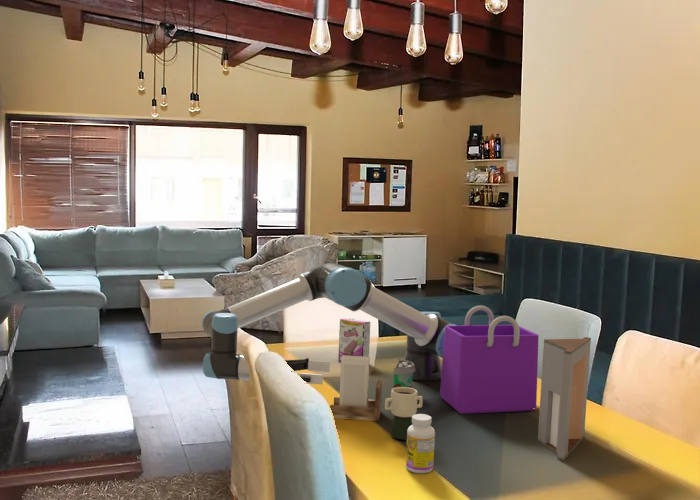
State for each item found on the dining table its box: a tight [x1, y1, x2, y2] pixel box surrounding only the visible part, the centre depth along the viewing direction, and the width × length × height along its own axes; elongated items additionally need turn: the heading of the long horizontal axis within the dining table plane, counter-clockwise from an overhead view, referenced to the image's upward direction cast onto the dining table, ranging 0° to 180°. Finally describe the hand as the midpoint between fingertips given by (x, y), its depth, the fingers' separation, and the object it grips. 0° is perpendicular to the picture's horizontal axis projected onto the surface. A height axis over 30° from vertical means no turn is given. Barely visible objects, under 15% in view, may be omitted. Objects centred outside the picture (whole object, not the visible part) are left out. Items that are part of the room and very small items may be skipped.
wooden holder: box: [329, 378, 383, 422], centre depth 205 cm, size 14×9×10 cm, turn 83°
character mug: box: [384, 387, 424, 441], centre depth 187 cm, size 11×7×13 cm, turn 108°
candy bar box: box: [337, 317, 371, 362], centre depth 265 cm, size 11×5×16 cm, turn 58°
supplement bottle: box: [405, 413, 436, 475], centre depth 167 cm, size 7×7×13 cm
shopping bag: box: [439, 305, 539, 415], centre depth 218 cm, size 28×22×30 cm
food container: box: [393, 358, 415, 388], centre depth 227 cm, size 12×6×10 cm, turn 168°
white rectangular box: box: [339, 355, 371, 407], centre depth 205 cm, size 8×4×16 cm, turn 83°
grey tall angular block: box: [537, 336, 592, 462], centre depth 186 cm, size 21×10×28 cm, turn 148°
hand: (326, 373), depth 205 cm, fingers open, 13 cm apart
